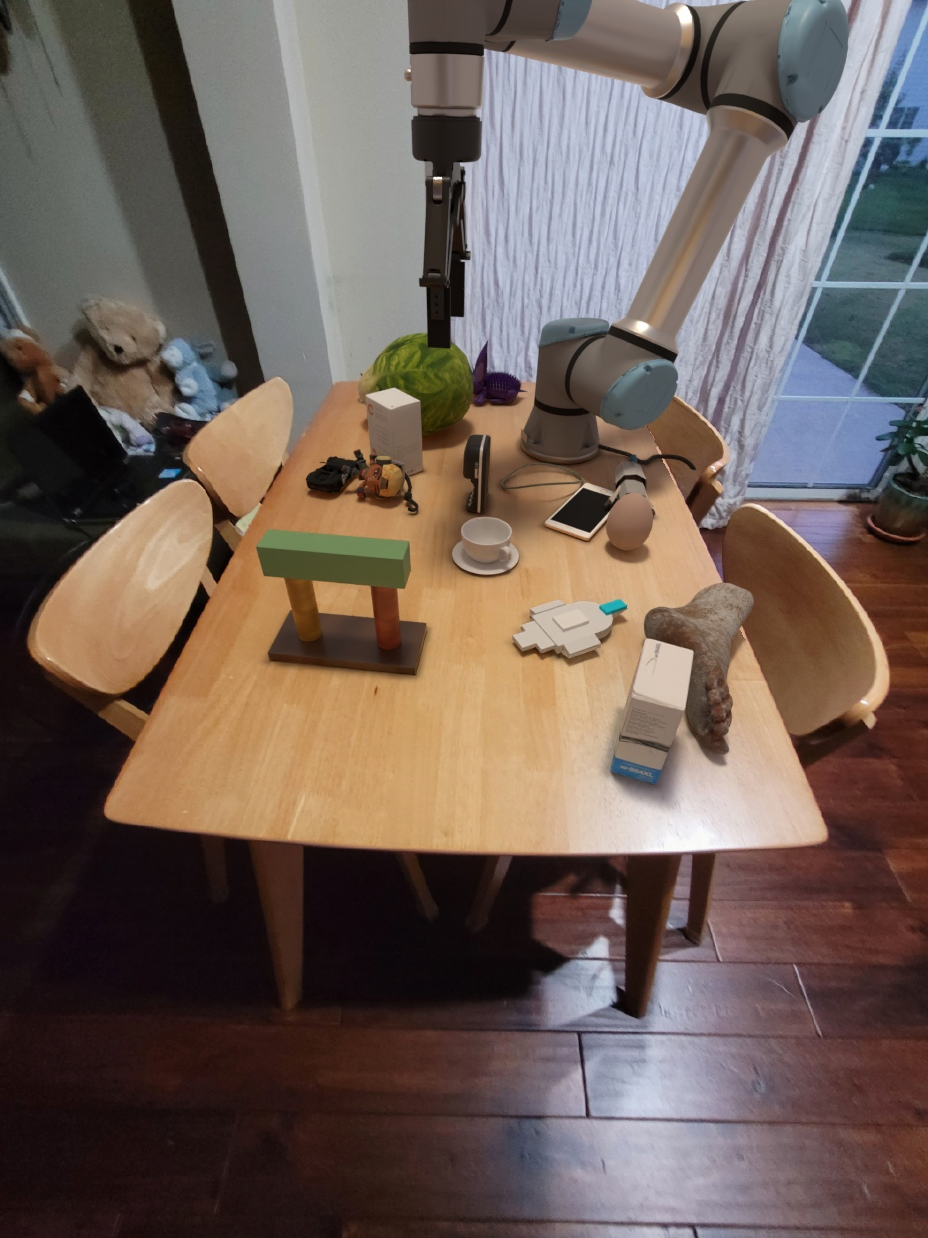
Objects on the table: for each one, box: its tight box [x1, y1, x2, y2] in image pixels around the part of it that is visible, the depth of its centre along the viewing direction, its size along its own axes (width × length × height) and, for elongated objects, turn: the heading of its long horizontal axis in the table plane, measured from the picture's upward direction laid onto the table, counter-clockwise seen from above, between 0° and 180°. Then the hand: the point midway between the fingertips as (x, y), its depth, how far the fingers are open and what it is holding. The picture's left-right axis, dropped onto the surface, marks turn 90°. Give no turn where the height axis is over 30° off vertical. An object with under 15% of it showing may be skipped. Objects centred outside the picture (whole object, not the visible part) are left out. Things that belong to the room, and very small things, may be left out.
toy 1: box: [342, 448, 420, 513], centre depth 97 cm, size 8×9×15 cm
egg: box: [605, 493, 654, 551], centre depth 86 cm, size 7×7×9 cm
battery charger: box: [462, 433, 492, 514], centre depth 95 cm, size 7×4×11 cm, turn 172°
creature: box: [471, 339, 529, 406], centre depth 128 cm, size 9×18×12 cm, turn 97°
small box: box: [365, 388, 424, 477], centre depth 103 cm, size 8×6×13 cm
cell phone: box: [544, 482, 618, 541], centre depth 97 cm, size 8×16×1 cm, turn 147°
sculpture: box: [643, 582, 755, 755], centre depth 67 cm, size 8×22×15 cm
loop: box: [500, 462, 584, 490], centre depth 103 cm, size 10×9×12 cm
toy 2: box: [604, 453, 657, 517], centre depth 96 cm, size 9×6×15 cm
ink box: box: [609, 638, 694, 785], centre depth 58 cm, size 9×5×12 cm, turn 158°
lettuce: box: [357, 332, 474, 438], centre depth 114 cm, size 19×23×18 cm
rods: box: [267, 578, 428, 675], centre depth 69 cm, size 18×8×11 cm, turn 83°
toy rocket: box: [511, 598, 629, 659], centre depth 74 cm, size 16×10×2 cm, turn 115°
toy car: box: [305, 455, 360, 494], centre depth 102 cm, size 8×12×4 cm
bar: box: [255, 528, 412, 590], centre depth 64 cm, size 16×4×4 cm, turn 83°
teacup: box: [451, 516, 520, 575], centre depth 86 cm, size 10×10×5 cm
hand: (447, 330), depth 75 cm, fingers open, 13 cm apart
